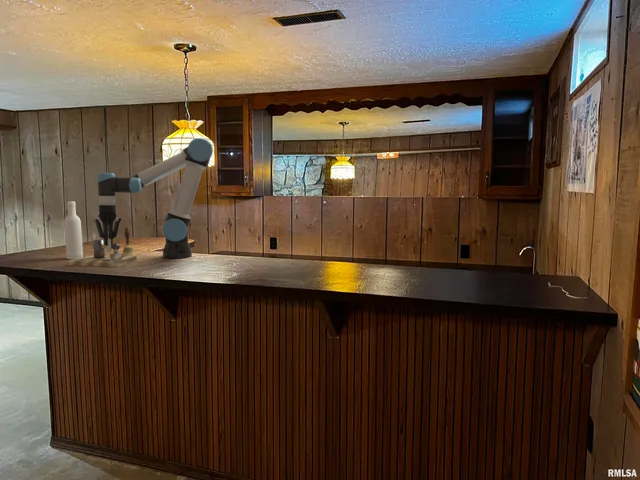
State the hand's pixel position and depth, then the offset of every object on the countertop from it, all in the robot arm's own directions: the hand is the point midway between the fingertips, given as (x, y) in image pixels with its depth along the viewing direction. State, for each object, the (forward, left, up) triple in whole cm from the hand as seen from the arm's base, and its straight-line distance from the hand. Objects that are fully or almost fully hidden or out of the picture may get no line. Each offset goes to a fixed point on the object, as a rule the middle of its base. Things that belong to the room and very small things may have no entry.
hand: (108, 251), depth 225 cm
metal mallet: (+2, -3, -4) cm, 5 cm away
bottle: (+26, -11, -6) cm, 29 cm away
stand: (+4, -1, -6) cm, 7 cm away
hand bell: (+1, -20, -6) cm, 21 cm away
